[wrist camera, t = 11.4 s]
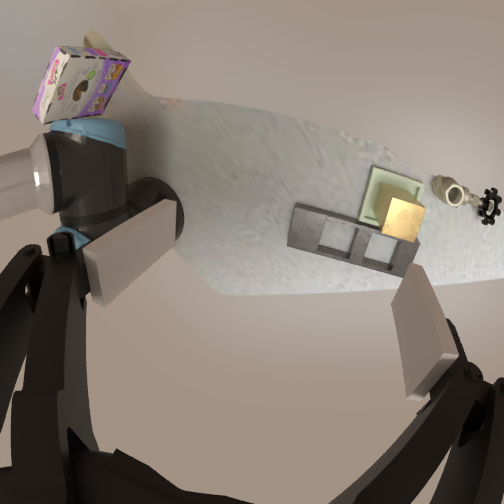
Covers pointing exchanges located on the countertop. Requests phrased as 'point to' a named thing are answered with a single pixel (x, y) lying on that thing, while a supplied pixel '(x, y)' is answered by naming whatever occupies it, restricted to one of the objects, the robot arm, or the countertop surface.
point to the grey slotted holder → (309, 232)
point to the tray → (373, 186)
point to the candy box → (78, 83)
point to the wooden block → (398, 212)
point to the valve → (466, 197)
